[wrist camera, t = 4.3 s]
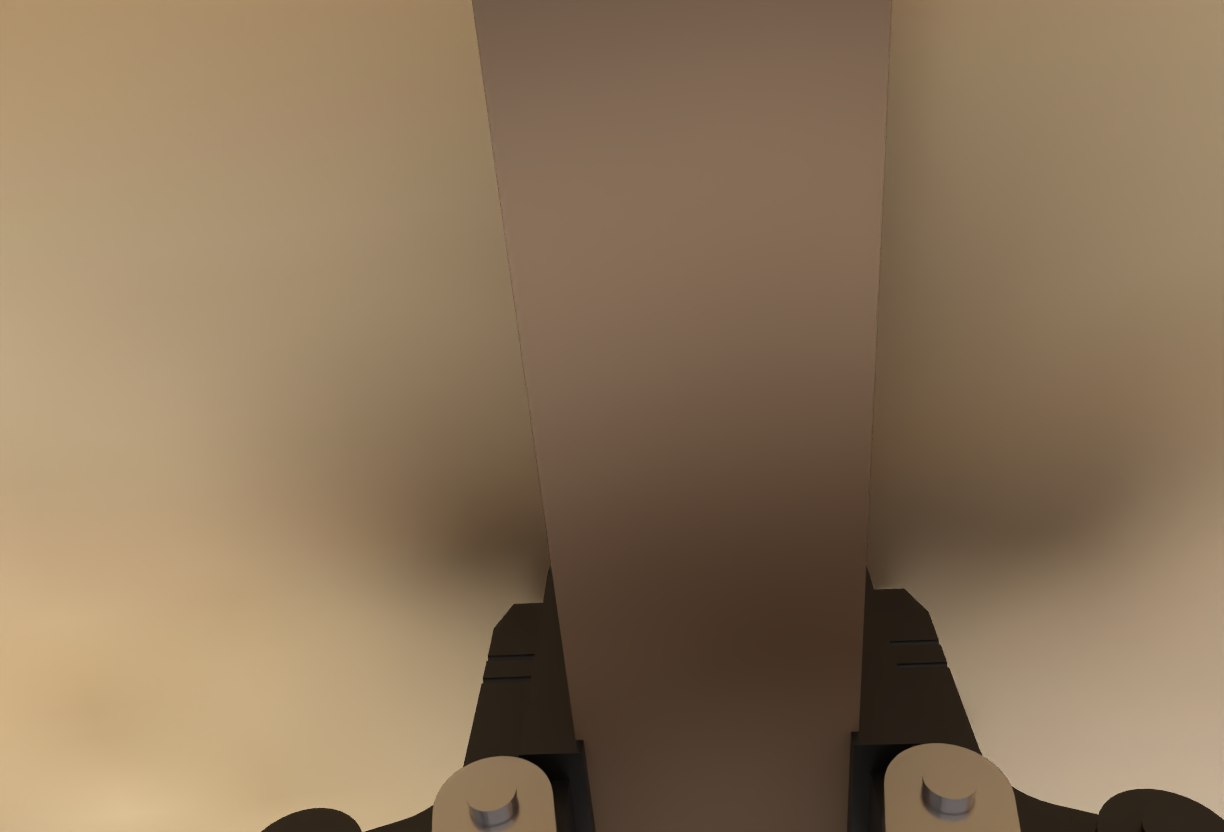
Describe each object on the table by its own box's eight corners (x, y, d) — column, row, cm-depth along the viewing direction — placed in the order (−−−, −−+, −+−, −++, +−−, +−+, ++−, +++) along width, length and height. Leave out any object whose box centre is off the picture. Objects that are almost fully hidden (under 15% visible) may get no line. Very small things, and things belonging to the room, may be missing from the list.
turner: (342, -71, 11) (189, -37, 7) (1015, -134, 10) (1200, -130, 7) (541, 966, 19) (514, 1210, 16) (912, 961, 19) (970, 1213, 15)
